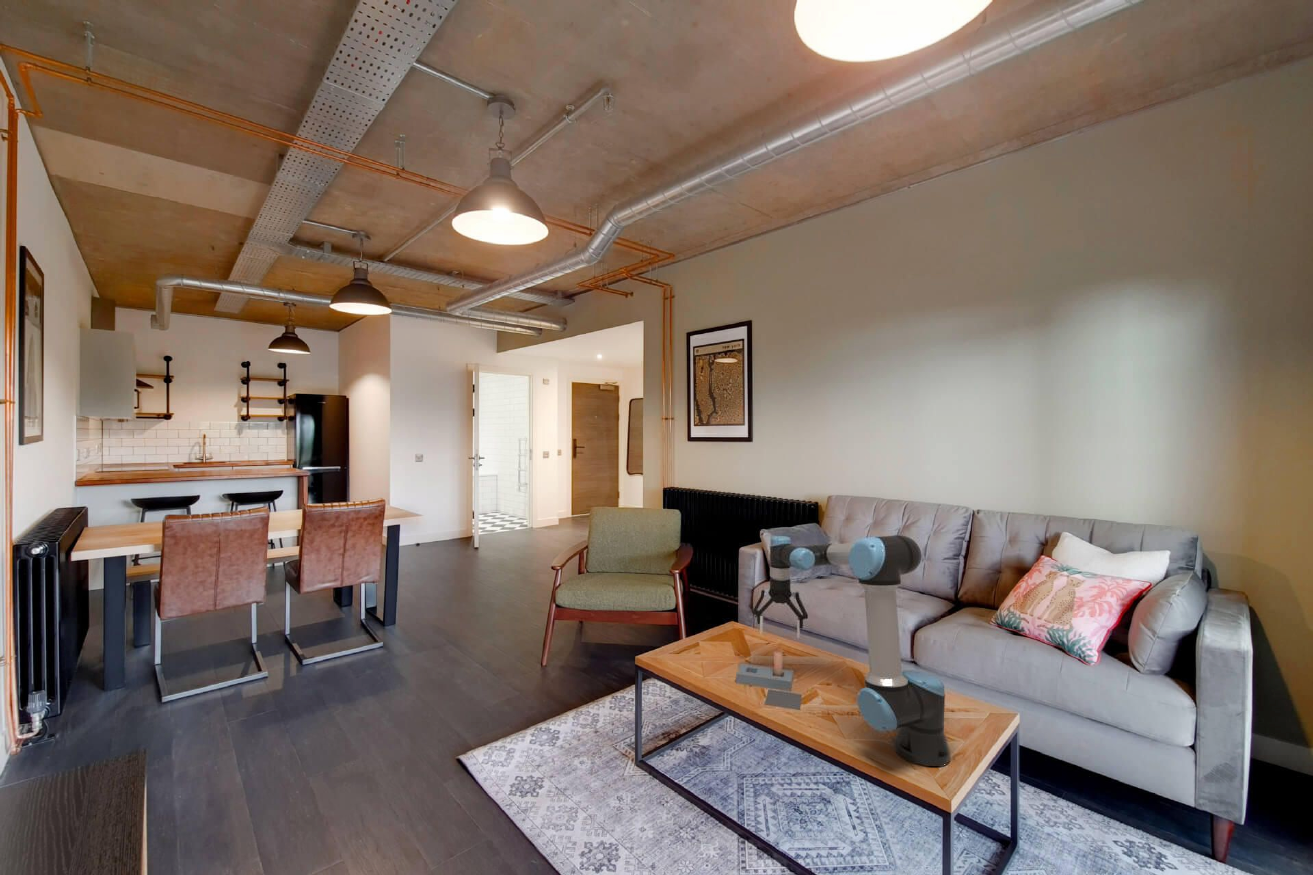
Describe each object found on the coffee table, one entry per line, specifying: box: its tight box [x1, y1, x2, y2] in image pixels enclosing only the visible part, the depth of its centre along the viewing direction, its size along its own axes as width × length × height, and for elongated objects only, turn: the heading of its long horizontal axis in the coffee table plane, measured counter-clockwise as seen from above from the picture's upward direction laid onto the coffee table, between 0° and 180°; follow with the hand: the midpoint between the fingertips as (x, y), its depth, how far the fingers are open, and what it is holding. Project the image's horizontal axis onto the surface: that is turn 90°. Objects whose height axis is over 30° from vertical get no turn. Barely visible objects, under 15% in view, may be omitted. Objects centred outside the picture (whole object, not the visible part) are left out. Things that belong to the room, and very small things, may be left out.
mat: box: [764, 688, 803, 711], centre depth 199 cm, size 12×12×1 cm
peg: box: [773, 650, 783, 677], centre depth 211 cm, size 3×3×12 cm
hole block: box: [735, 662, 794, 693], centre depth 213 cm, size 10×20×4 cm, turn 72°
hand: (779, 634), depth 211 cm, fingers open, 13 cm apart
